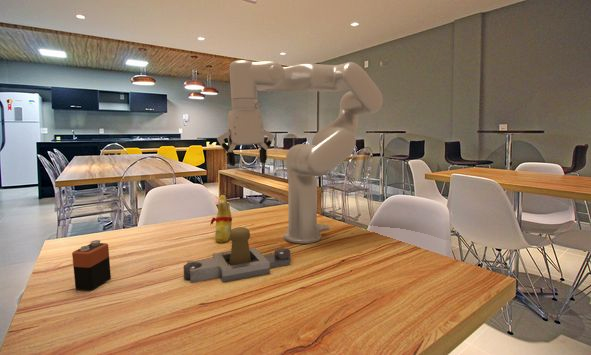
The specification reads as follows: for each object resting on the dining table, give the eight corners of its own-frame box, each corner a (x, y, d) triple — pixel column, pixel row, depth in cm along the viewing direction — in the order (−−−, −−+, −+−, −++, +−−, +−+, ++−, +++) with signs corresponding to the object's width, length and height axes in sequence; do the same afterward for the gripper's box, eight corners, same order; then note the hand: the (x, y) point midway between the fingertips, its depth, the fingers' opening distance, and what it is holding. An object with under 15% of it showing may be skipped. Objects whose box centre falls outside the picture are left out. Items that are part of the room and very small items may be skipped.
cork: (247, 274, 85) (246, 232, 83) (225, 272, 86) (224, 230, 84) (255, 265, 90) (254, 225, 89) (234, 263, 92) (233, 224, 90)
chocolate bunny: (234, 233, 118) (233, 191, 116) (229, 243, 107) (227, 198, 105) (214, 233, 118) (213, 191, 116) (207, 244, 107) (206, 198, 105)
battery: (112, 278, 82) (108, 239, 81) (91, 291, 76) (88, 249, 74) (95, 277, 83) (92, 238, 81) (74, 290, 76) (70, 248, 75)
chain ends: (281, 253, 99) (281, 243, 99) (298, 268, 88) (298, 257, 88) (181, 269, 87) (180, 258, 87) (187, 289, 77) (186, 276, 76)
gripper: (267, 106, 104) (269, 160, 107) (211, 106, 96) (216, 165, 99) (277, 104, 98) (279, 162, 100) (218, 104, 90) (223, 168, 92)
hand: (248, 164), depth 100 cm, fingers open, 9 cm apart
